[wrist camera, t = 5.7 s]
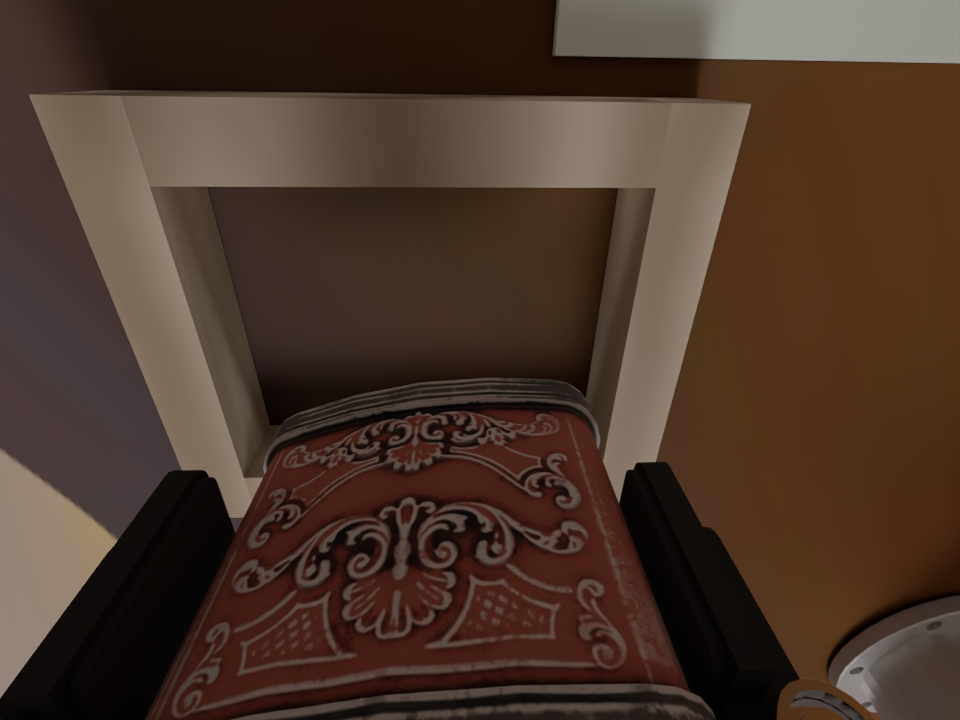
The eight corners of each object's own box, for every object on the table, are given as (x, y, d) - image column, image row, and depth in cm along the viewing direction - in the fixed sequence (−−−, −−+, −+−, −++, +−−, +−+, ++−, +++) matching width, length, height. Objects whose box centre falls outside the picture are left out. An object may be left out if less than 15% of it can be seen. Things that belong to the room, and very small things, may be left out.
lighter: (299, 504, 13) (3, 1298, 5) (254, 404, 12) (-345, 1362, 3) (592, 467, 13) (858, 1233, 4) (590, 360, 11) (1020, 1269, 3)
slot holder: (697, 97, 15) (751, 103, 12) (621, 452, 22) (644, 503, 19) (108, 89, 14) (28, 94, 11) (232, 463, 21) (202, 518, 18)
